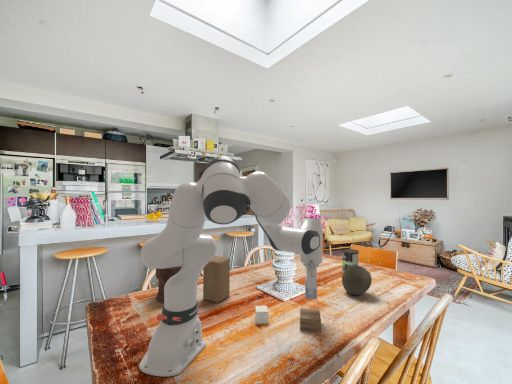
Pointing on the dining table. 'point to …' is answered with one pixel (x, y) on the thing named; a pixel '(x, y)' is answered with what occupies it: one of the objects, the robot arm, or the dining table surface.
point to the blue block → (308, 293)
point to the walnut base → (310, 320)
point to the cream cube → (261, 314)
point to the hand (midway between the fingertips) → (310, 291)
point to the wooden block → (216, 279)
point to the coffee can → (349, 258)
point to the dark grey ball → (356, 280)
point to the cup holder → (164, 280)
